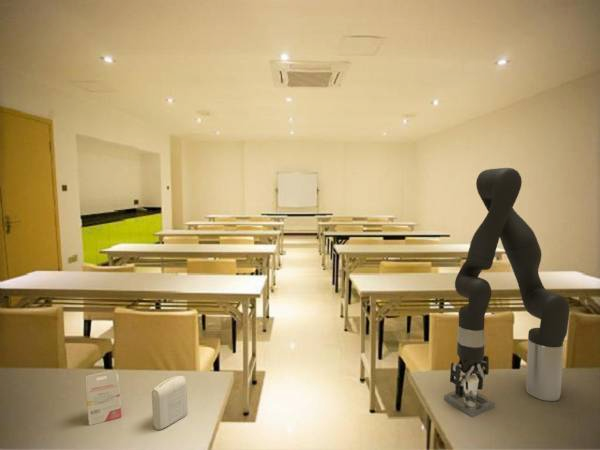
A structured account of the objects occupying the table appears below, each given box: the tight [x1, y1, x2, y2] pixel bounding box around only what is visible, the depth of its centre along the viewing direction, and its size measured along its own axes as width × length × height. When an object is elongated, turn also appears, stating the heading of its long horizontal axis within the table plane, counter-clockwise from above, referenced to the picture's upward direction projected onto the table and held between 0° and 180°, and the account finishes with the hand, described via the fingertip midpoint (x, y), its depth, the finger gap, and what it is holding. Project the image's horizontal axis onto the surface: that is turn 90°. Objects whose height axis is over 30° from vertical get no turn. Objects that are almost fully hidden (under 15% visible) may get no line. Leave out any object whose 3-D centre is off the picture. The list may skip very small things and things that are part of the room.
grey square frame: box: [443, 390, 495, 418], centre depth 115 cm, size 10×10×2 cm
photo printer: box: [151, 375, 189, 431], centre depth 109 cm, size 10×4×12 cm, turn 144°
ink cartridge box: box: [84, 369, 122, 426], centre depth 110 cm, size 9×5×15 cm, turn 115°
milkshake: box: [463, 374, 479, 408], centre depth 115 cm, size 5×5×10 cm
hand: (469, 392), depth 115 cm, fingers open, 8 cm apart
